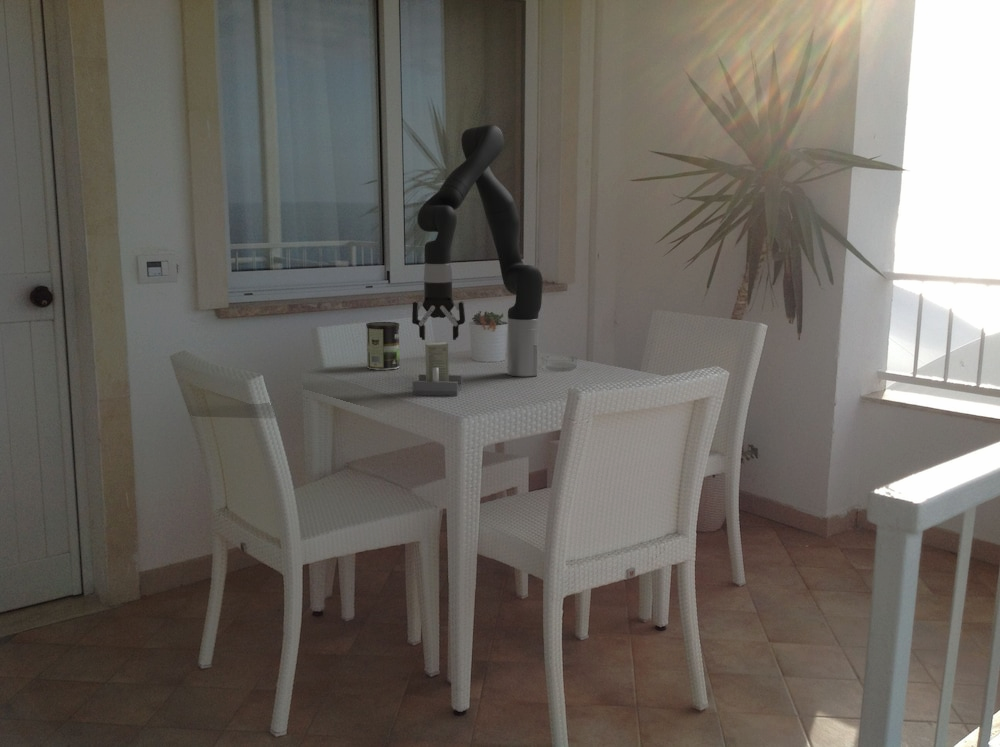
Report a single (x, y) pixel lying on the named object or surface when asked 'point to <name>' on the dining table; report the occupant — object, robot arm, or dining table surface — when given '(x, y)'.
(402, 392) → the dining table surface
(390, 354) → the coffee can
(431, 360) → the skincare box
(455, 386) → the tray
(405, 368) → the dining table surface
